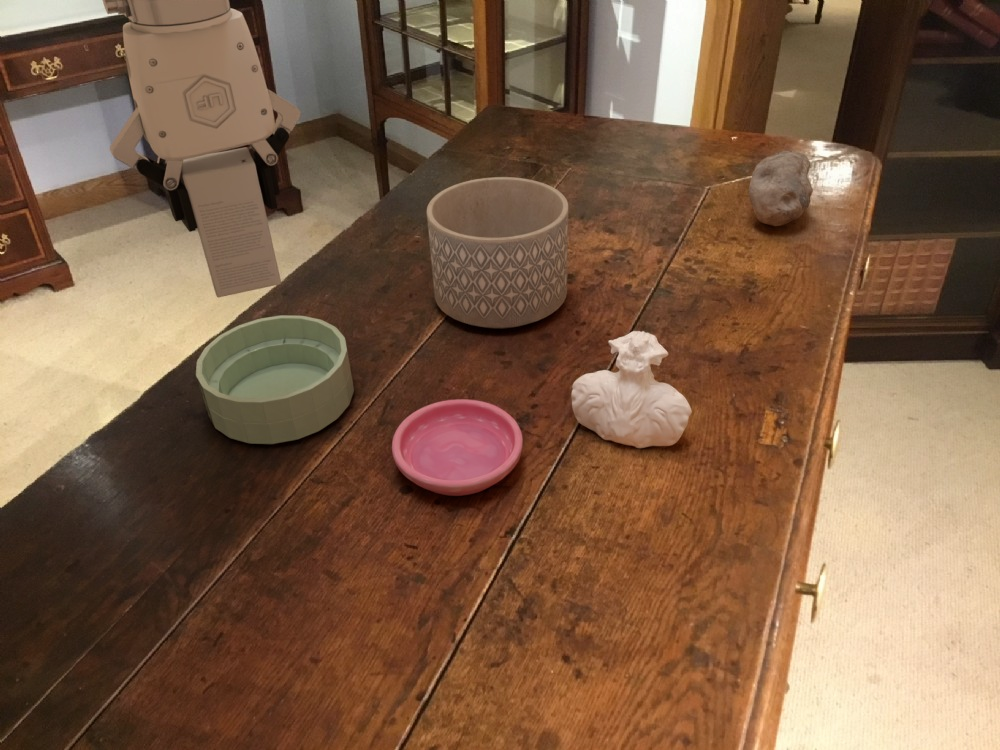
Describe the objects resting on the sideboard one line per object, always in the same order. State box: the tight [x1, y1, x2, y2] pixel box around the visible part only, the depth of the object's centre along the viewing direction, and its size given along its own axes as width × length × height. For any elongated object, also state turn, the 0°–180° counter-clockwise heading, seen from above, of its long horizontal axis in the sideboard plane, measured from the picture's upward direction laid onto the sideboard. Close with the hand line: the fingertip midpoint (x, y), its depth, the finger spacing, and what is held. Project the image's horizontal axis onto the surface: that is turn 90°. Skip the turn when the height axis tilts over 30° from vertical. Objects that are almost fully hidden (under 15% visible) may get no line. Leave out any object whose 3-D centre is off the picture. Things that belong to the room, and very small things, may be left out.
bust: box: [570, 330, 693, 449], centre depth 84 cm, size 12×8×11 cm
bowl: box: [195, 314, 355, 445], centre depth 90 cm, size 15×15×6 cm
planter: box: [426, 176, 569, 330], centre depth 102 cm, size 16×16×13 cm
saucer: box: [391, 398, 524, 497], centre depth 82 cm, size 12×12×3 cm
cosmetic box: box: [181, 146, 282, 299], centre depth 76 cm, size 6×4×12 cm
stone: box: [747, 150, 814, 227], centre depth 119 cm, size 9×14×10 cm, turn 150°
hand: (229, 212), depth 76 cm, fingers closed on cosmetic box, 6 cm apart
